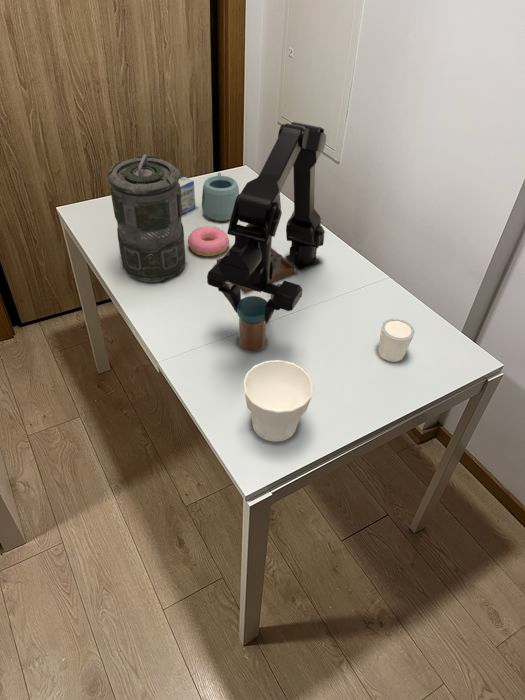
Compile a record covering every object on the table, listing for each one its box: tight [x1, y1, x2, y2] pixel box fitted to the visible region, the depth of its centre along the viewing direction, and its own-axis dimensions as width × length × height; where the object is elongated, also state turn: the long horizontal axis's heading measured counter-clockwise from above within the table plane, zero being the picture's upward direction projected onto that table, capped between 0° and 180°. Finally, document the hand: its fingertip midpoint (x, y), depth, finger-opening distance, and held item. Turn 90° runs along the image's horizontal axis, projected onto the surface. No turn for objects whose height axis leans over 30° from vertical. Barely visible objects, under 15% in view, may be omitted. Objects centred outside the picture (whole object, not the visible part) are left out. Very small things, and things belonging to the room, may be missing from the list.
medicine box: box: [178, 176, 196, 215], centre depth 153 cm, size 8×4×9 cm, turn 141°
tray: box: [216, 247, 296, 294], centre depth 136 cm, size 15×13×2 cm
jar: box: [238, 317, 267, 352], centre depth 114 cm, size 6×6×10 cm
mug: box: [201, 172, 240, 222], centre depth 154 cm, size 15×11×10 cm
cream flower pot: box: [242, 359, 315, 442], centre depth 97 cm, size 12×12×11 cm
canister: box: [107, 153, 186, 283], centre depth 126 cm, size 16×16×28 cm
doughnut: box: [187, 226, 230, 257], centre depth 142 cm, size 11×11×4 cm
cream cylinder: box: [377, 318, 415, 363], centre depth 114 cm, size 7×7×7 cm
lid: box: [236, 295, 268, 323], centre depth 111 cm, size 7×7×2 cm
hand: (252, 317), depth 112 cm, fingers closed on lid, 6 cm apart
